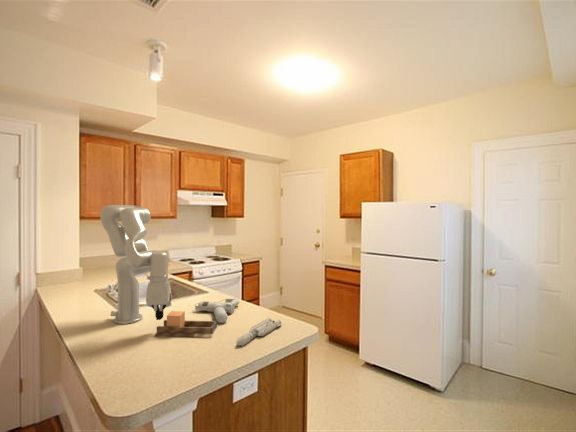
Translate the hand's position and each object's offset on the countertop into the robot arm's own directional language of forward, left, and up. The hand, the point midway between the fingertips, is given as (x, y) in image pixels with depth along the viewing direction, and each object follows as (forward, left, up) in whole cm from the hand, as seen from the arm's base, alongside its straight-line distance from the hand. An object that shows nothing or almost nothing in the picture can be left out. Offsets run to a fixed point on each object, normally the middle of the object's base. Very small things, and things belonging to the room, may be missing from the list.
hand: (159, 318), depth 141 cm
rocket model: (+45, -1, -6) cm, 46 cm away
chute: (+13, 0, -6) cm, 14 cm away
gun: (+16, +27, -6) cm, 32 cm away
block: (+8, 0, -4) cm, 9 cm away
